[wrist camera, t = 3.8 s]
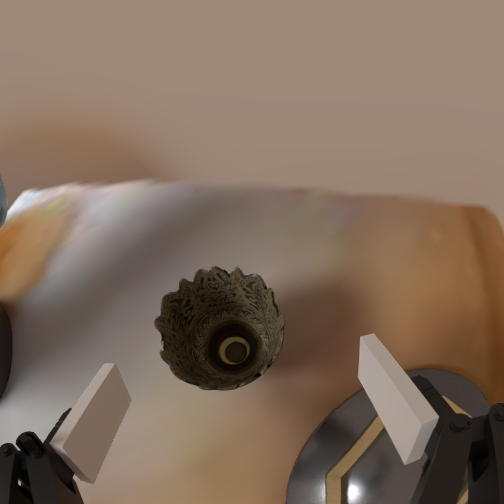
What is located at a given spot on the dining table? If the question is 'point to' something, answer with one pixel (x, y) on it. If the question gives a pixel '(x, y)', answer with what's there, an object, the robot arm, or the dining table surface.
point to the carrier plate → (370, 450)
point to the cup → (220, 328)
